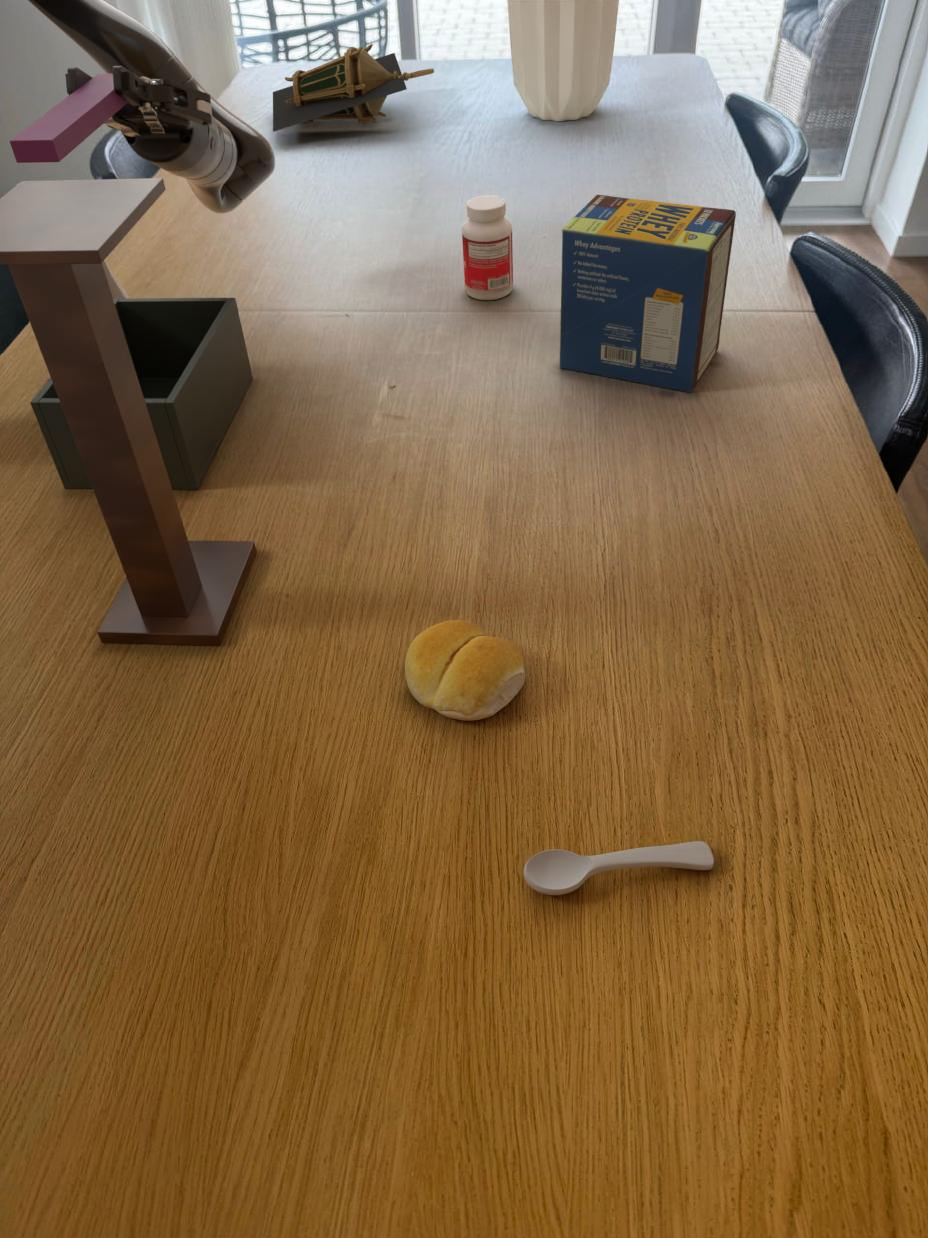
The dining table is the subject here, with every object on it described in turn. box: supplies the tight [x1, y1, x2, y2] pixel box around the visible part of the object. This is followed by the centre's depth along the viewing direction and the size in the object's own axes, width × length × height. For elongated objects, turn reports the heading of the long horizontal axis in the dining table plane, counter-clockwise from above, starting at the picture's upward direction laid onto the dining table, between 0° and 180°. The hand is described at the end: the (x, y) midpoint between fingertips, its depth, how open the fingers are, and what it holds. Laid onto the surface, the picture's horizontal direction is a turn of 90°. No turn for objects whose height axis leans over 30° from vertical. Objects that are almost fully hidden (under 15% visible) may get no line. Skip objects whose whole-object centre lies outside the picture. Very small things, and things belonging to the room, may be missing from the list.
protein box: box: [558, 194, 737, 393], centre depth 103 cm, size 10×15×16 cm
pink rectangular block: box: [9, 73, 128, 164], centre depth 79 cm, size 3×18×2 cm, turn 175°
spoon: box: [522, 840, 715, 896], centre depth 60 cm, size 3×12×2 cm, turn 97°
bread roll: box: [404, 619, 527, 722], centre depth 72 cm, size 8×9×4 cm
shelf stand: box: [0, 177, 258, 647], centre depth 71 cm, size 10×12×32 cm
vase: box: [507, 0, 620, 122], centre depth 167 cm, size 20×20×28 cm
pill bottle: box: [461, 194, 514, 301], centre depth 119 cm, size 6×6×11 cm
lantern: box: [272, 43, 435, 133], centre depth 175 cm, size 14×23×30 cm
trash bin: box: [29, 297, 254, 491], centre depth 99 cm, size 14×22×10 cm, turn 175°
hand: (95, 79), depth 81 cm, fingers closed on pink rectangular block, 3 cm apart
